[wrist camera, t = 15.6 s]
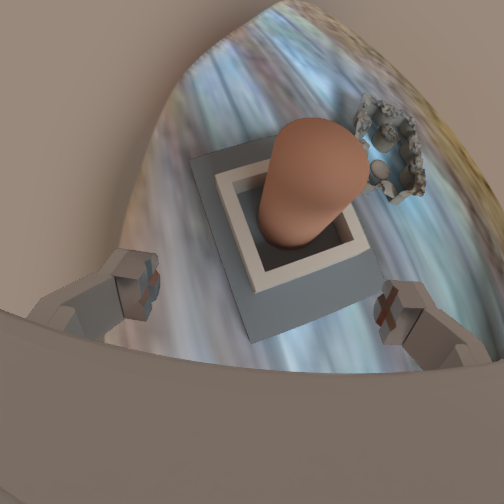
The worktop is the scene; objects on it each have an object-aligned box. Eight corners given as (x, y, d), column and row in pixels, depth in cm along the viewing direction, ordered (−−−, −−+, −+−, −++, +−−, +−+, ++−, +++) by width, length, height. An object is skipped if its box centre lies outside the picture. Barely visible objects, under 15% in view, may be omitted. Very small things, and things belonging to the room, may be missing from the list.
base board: (250, 342, 23) (252, 347, 19) (191, 167, 26) (184, 144, 22) (379, 289, 24) (401, 284, 20) (310, 135, 27) (320, 110, 23)
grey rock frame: (405, 214, 26) (427, 200, 22) (337, 187, 26) (352, 168, 22) (410, 133, 28) (427, 114, 24) (352, 108, 28) (364, 85, 24)
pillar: (289, 263, 23) (328, 226, 13) (243, 218, 23) (250, 152, 13) (330, 221, 24) (386, 165, 14) (287, 179, 24) (316, 103, 14)
